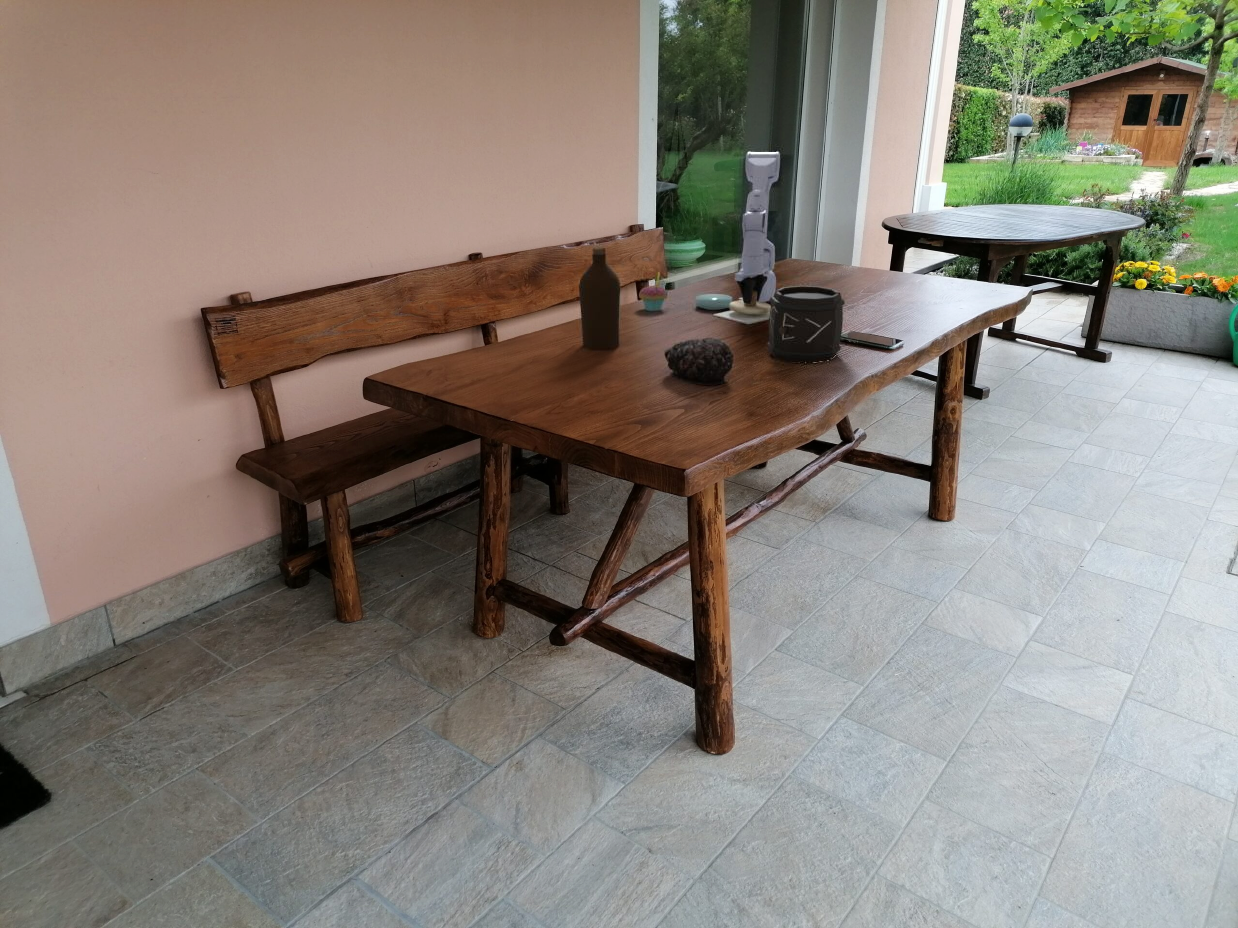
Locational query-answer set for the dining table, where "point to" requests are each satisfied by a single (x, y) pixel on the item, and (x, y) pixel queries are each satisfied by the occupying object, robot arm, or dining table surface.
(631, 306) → the dining table surface
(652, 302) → the cupcake
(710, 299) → the light blue flat disc
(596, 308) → the olive oil
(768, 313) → the mat
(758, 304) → the lid
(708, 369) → the pine cone
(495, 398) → the dining table surface
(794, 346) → the dark grey barrel
